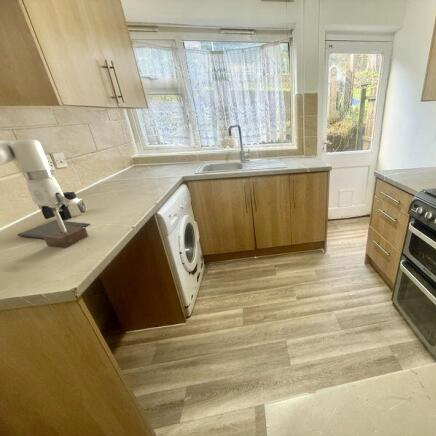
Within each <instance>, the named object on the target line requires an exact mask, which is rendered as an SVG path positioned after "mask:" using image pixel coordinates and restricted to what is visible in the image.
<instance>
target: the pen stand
mask: <svg viewBox="0 0 436 436" xmlns="http://www.w3.org/2000/svg"><path fill="white" fill-rule="evenodd" d="M65 228H66V230H67V232H66V233H62V230H61V229H59V230H57V231H54V232H52V233H49V234H47V235H44V236H43V237H44V239H43V240H44V242H45V243H46V246H47V247H51V248H59V247H61V248H60V249H67V248H68V246H69V247H71V246H73V245H75V244H76V243H75V242H77V241H79V240H81V239H83V238H85V237H86V238H88V237H89V234H88V231H87V229H86V227H85V228H82V227H73V226H67V227H65ZM87 236H88V237H87ZM86 238H85V239H86ZM83 240H84V239H83ZM81 241H82V240H81ZM79 242H80V241H79ZM74 243H75V244H74ZM77 243H78V242H77ZM72 244H73V245H72ZM70 245H71V246H70ZM66 247H67V248H66Z"/></svg>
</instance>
